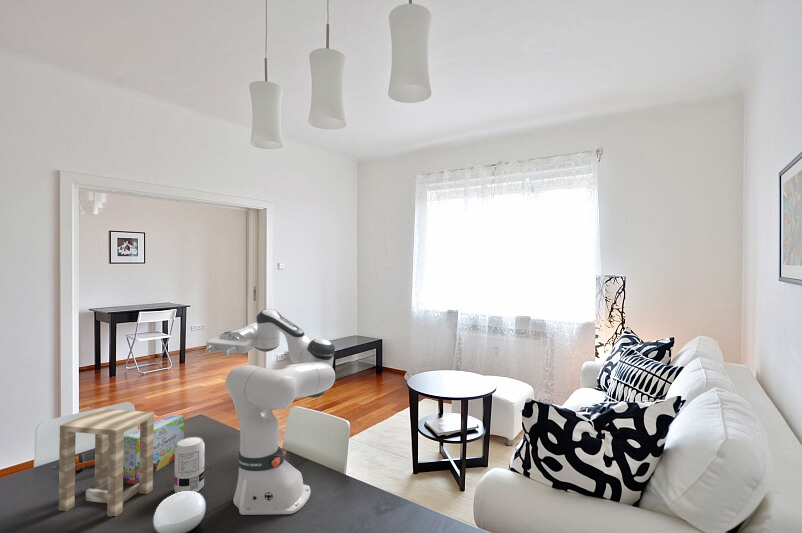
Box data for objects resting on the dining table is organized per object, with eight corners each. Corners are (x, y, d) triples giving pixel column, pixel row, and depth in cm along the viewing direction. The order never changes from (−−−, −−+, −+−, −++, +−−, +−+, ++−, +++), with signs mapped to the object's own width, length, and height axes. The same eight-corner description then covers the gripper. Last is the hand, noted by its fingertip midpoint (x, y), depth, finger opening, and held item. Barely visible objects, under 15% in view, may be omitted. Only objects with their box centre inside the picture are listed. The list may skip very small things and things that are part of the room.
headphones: (104, 441, 155) (128, 442, 144) (106, 456, 154) (129, 458, 143) (48, 458, 141) (69, 461, 130) (49, 474, 140) (70, 479, 129)
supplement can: (168, 493, 125) (168, 444, 125) (190, 480, 133) (191, 434, 133) (187, 499, 122) (188, 449, 122) (209, 485, 130) (210, 438, 130)
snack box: (136, 485, 129) (136, 438, 129) (121, 483, 131) (121, 436, 131) (184, 455, 150) (184, 414, 150) (171, 453, 151) (171, 412, 151)
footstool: (154, 488, 128) (155, 411, 128) (115, 516, 113) (116, 430, 113) (103, 483, 130) (104, 407, 130) (58, 510, 116) (59, 425, 116)
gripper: (260, 349, 175) (238, 361, 162) (221, 345, 181) (197, 357, 169) (258, 334, 174) (236, 346, 161) (220, 331, 180) (195, 342, 167)
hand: (216, 352), depth 165 cm, fingers open, 8 cm apart
